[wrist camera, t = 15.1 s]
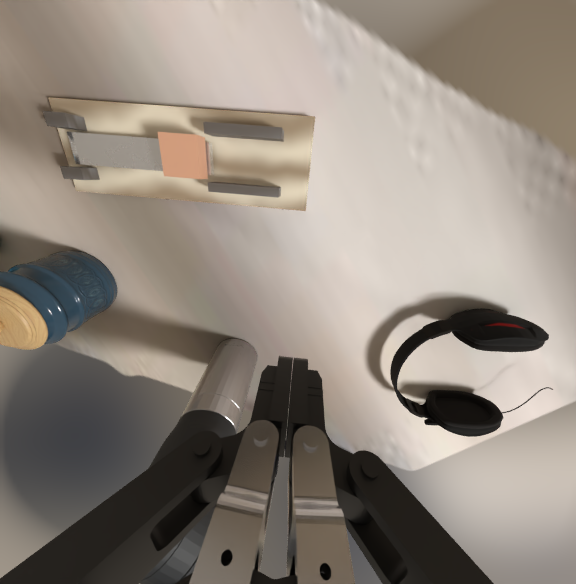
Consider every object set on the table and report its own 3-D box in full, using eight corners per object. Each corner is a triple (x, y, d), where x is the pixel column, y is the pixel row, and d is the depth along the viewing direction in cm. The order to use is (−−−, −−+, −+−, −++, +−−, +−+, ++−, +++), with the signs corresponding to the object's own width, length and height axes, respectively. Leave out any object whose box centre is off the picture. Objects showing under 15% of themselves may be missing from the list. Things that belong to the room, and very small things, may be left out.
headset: (534, 387, 51) (575, 426, 43) (410, 419, 58) (426, 457, 51) (514, 281, 41) (563, 306, 33) (368, 336, 48) (380, 367, 41)
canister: (49, 239, 44) (-95, 275, 28) (119, 261, 45) (18, 309, 29) (57, 297, 50) (-58, 354, 34) (119, 316, 51) (34, 380, 35)
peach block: (207, 178, 34) (200, 179, 32) (173, 176, 34) (163, 176, 32) (204, 137, 32) (196, 134, 29) (168, 134, 32) (157, 131, 30)
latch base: (305, 209, 38) (305, 214, 34) (84, 190, 40) (57, 192, 35) (314, 118, 33) (315, 110, 29) (58, 100, 34) (23, 90, 30)
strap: (214, 175, 35) (210, 175, 34) (81, 164, 36) (73, 163, 35) (212, 143, 33) (208, 142, 32) (72, 132, 34) (63, 131, 33)
